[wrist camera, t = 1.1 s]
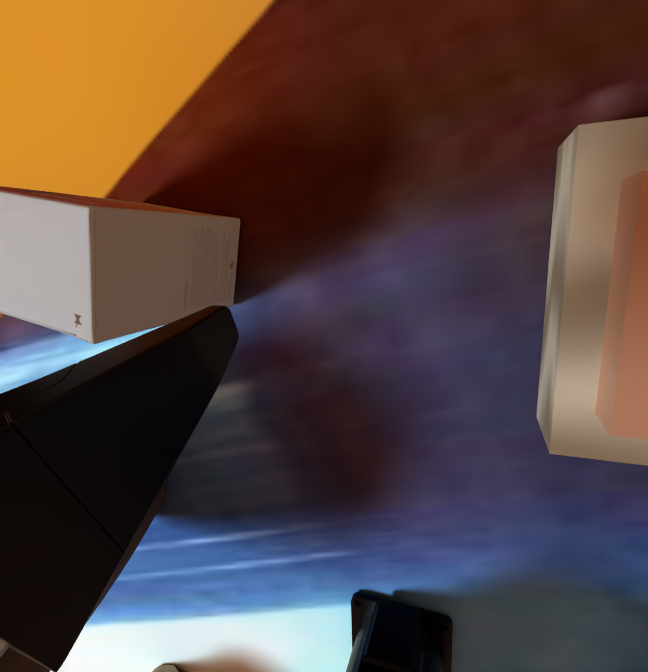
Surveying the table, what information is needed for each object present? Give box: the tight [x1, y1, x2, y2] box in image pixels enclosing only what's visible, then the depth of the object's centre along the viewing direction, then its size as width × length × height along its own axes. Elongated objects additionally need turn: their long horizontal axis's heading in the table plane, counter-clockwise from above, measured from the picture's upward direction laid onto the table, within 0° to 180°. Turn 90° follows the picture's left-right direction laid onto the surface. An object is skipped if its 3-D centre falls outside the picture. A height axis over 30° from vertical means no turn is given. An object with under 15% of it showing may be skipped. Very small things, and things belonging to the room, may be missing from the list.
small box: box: [0, 186, 240, 344], centre depth 22 cm, size 8×6×10 cm
